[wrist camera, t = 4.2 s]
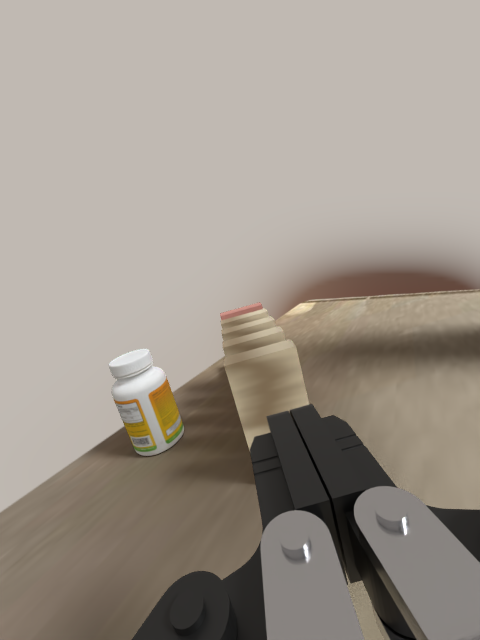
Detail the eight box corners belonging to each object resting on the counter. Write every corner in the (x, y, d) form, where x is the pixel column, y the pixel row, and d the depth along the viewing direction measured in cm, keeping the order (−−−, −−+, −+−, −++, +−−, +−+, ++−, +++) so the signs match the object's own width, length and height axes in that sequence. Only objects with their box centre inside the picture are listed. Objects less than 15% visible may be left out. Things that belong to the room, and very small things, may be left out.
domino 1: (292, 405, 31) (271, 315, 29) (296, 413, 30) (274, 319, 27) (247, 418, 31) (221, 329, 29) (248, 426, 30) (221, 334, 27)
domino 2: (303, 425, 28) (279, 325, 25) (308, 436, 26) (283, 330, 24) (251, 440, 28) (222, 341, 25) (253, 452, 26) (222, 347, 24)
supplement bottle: (180, 417, 35) (153, 341, 33) (190, 440, 30) (159, 353, 28) (134, 438, 33) (102, 359, 31) (136, 466, 28) (98, 375, 26)
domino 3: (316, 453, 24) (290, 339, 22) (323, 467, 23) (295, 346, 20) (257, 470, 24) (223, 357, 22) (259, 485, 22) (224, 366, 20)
